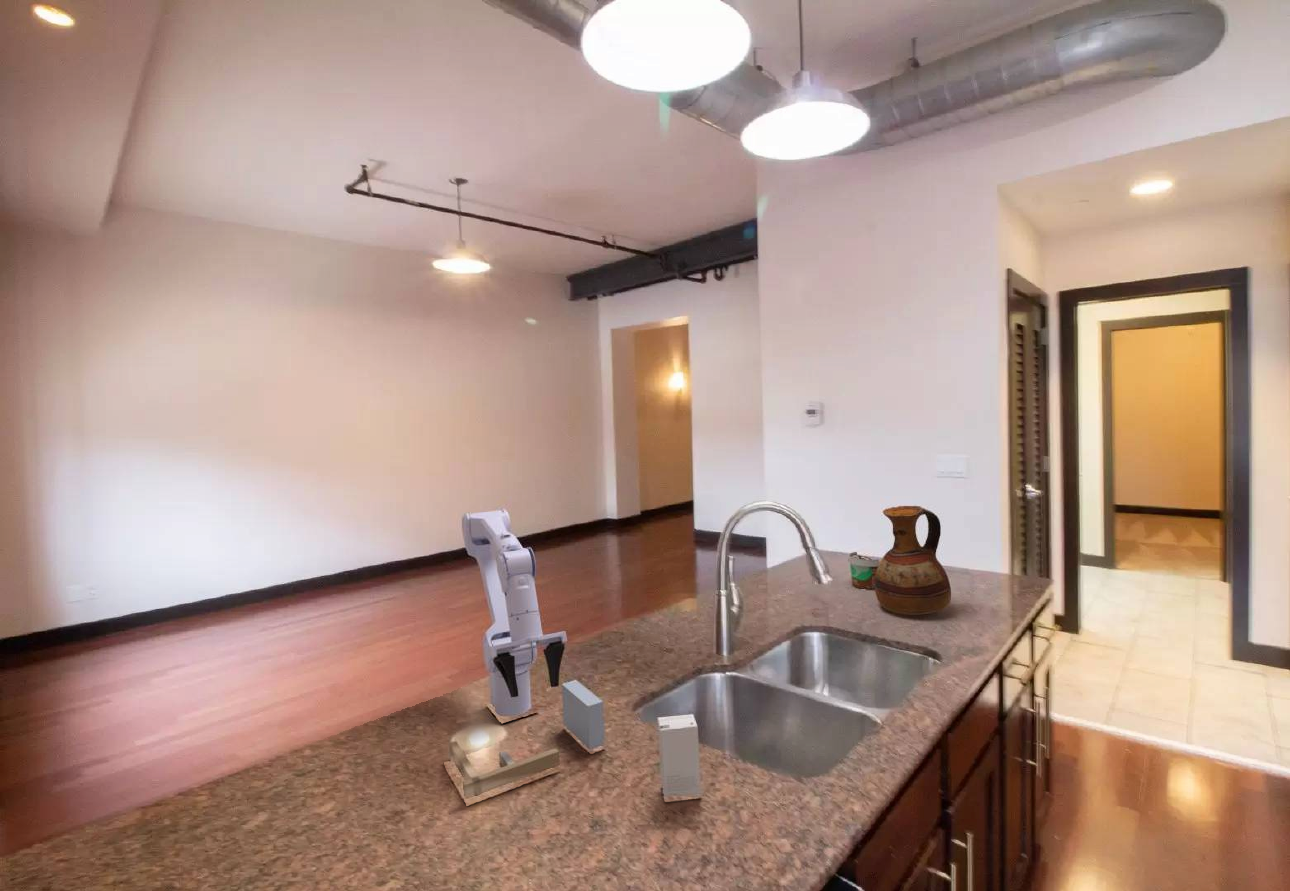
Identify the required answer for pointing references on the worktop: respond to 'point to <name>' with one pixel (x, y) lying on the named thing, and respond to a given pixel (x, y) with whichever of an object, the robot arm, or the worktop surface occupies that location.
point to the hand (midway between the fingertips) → (535, 691)
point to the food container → (863, 571)
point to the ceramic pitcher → (912, 566)
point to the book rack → (500, 769)
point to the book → (583, 714)
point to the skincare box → (679, 755)
